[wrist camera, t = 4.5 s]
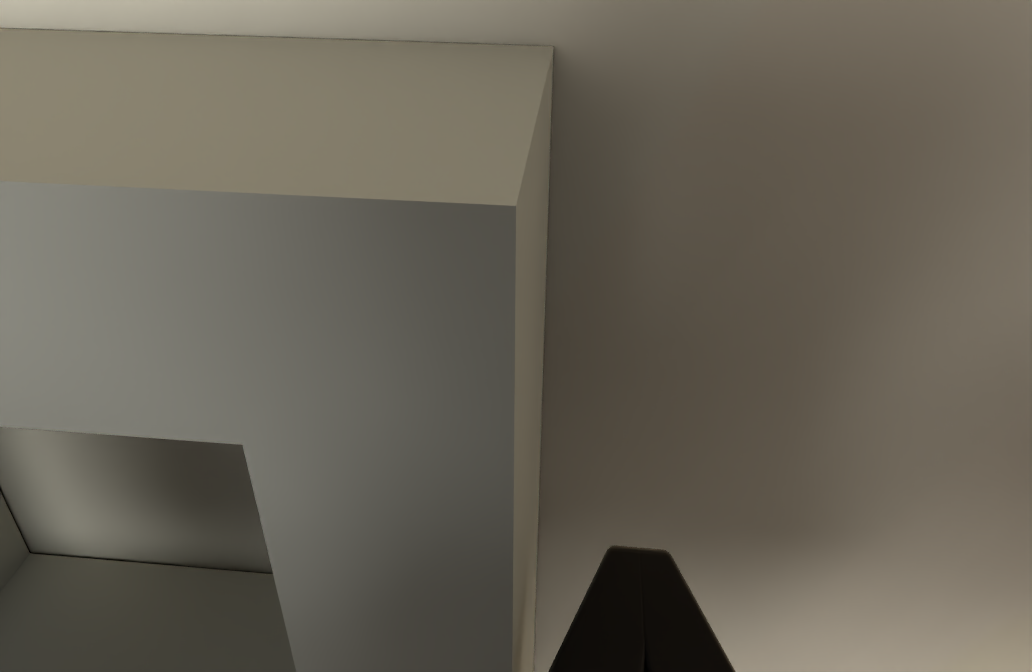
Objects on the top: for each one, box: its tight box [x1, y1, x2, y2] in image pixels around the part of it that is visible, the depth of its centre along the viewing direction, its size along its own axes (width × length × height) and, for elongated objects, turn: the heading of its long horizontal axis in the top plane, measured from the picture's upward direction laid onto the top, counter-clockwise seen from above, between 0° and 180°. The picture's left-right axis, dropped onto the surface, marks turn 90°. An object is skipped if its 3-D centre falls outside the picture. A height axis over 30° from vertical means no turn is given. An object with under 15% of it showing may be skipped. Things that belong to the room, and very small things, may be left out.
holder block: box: [0, 28, 554, 672], centre depth 10 cm, size 11×11×4 cm
